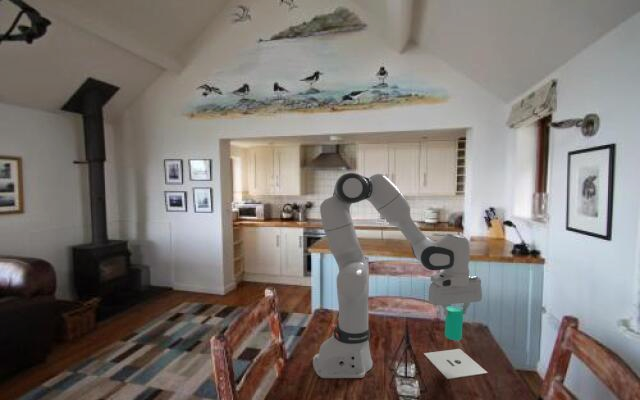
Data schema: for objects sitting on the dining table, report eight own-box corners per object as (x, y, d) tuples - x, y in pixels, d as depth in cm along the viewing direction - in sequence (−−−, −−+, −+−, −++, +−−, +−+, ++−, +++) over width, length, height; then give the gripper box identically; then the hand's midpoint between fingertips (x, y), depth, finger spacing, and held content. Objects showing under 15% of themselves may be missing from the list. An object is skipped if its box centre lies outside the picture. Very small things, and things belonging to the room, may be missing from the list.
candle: (463, 341, 114) (465, 309, 114) (446, 339, 115) (448, 307, 115) (459, 333, 120) (461, 302, 119) (443, 331, 121) (444, 301, 120)
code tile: (447, 379, 109) (447, 378, 109) (423, 354, 125) (423, 353, 125) (487, 373, 113) (487, 372, 112) (459, 349, 128) (459, 348, 128)
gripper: (475, 273, 122) (474, 308, 123) (426, 277, 118) (425, 313, 119) (486, 278, 115) (485, 315, 116) (435, 282, 111) (435, 320, 112)
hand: (455, 314), depth 117 cm, fingers closed on candle, 5 cm apart
